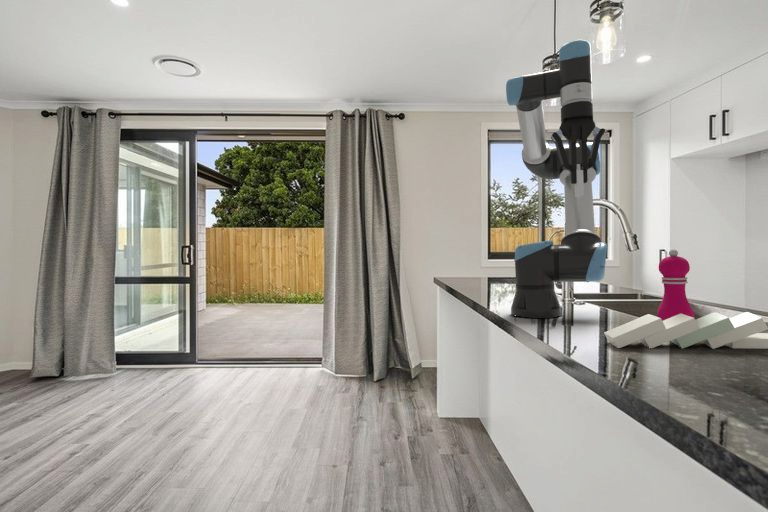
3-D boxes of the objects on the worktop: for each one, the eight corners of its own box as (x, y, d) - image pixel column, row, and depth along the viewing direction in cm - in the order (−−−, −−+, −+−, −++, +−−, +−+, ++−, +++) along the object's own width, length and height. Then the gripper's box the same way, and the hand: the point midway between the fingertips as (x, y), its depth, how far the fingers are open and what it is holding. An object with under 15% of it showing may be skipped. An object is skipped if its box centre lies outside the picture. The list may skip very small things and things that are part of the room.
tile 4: (695, 331, 92) (747, 311, 88) (701, 341, 91) (753, 322, 88) (706, 338, 86) (762, 317, 83) (712, 349, 86) (768, 328, 83)
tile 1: (603, 332, 95) (648, 313, 93) (608, 342, 95) (653, 323, 93) (613, 338, 89) (660, 318, 87) (618, 348, 89) (666, 328, 87)
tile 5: (715, 333, 92) (769, 333, 90) (716, 344, 92) (770, 344, 90) (732, 338, 86) (790, 338, 84) (732, 350, 86) (791, 351, 84)
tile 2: (634, 332, 94) (680, 313, 92) (639, 342, 94) (686, 323, 92) (644, 338, 88) (694, 317, 86) (650, 348, 88) (700, 328, 86)
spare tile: (665, 331, 93) (714, 311, 90) (671, 341, 93) (720, 322, 90) (676, 338, 87) (728, 317, 84) (682, 348, 87) (734, 328, 84)
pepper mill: (701, 338, 95) (698, 248, 95) (665, 338, 97) (662, 250, 97) (685, 332, 102) (683, 248, 102) (652, 332, 104) (649, 249, 104)
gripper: (552, 102, 108) (555, 196, 108) (608, 96, 105) (611, 192, 106) (547, 111, 115) (550, 199, 115) (599, 106, 113) (602, 196, 113)
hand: (579, 196), depth 111 cm, fingers closed
